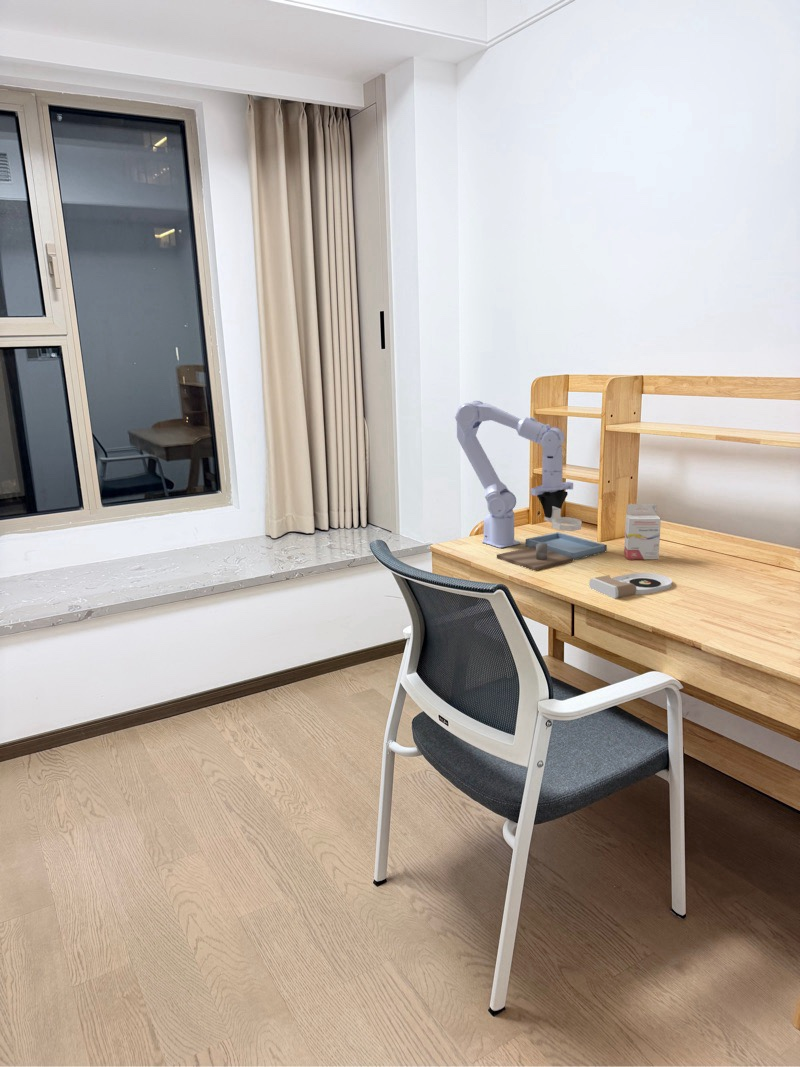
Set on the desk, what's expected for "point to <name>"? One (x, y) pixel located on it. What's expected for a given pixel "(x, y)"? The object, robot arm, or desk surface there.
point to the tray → (568, 545)
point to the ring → (563, 521)
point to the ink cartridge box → (642, 532)
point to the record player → (630, 584)
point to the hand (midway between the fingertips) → (552, 516)
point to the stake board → (535, 557)
